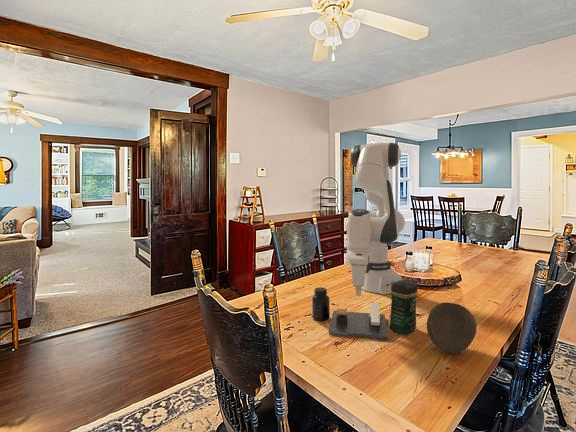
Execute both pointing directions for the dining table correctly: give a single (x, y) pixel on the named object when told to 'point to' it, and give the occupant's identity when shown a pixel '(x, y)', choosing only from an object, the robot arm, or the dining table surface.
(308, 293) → the dining table surface
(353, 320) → the panel
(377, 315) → the paddle
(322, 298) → the supplement bottle
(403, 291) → the coffee jar
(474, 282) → the dining table surface
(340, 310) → the paddle
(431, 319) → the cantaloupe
